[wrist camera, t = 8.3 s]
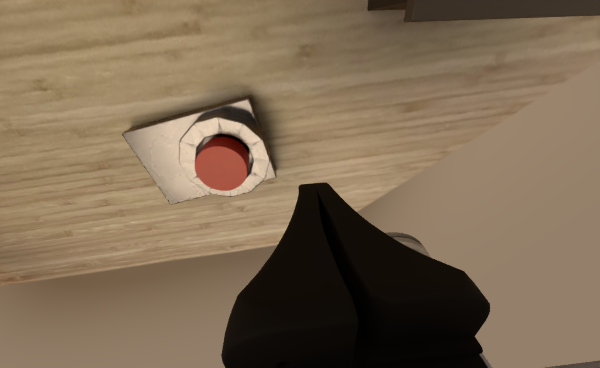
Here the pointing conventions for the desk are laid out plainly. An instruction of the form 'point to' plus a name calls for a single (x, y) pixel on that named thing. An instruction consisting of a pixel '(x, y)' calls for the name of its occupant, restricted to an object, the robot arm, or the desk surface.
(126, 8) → the desk surface
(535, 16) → the lid
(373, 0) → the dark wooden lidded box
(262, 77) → the desk surface
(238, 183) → the button
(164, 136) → the button block
